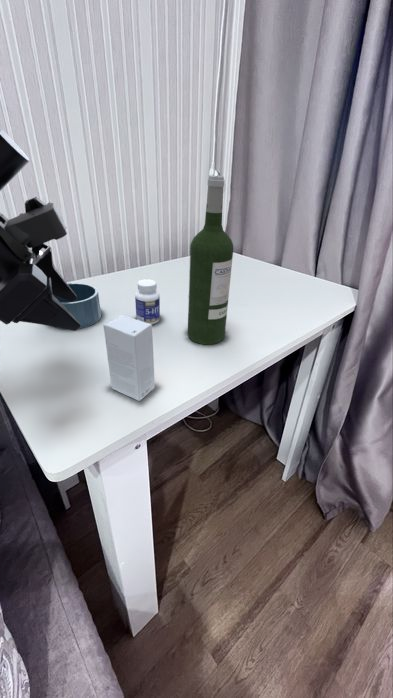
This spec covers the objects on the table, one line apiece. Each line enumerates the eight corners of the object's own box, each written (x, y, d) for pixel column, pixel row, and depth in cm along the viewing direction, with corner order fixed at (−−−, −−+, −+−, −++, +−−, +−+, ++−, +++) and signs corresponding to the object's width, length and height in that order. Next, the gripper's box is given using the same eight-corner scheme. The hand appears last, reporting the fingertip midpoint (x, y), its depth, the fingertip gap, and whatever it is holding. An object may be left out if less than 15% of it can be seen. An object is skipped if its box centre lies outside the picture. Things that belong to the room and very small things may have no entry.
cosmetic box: (155, 387, 55) (153, 324, 48) (139, 402, 52) (134, 336, 45) (127, 375, 57) (121, 313, 51) (110, 388, 54) (101, 324, 48)
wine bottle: (220, 348, 66) (236, 180, 50) (182, 341, 68) (186, 176, 51) (227, 329, 73) (243, 176, 56) (193, 324, 74) (199, 173, 58)
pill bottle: (147, 327, 72) (145, 289, 67) (131, 319, 75) (129, 282, 70) (164, 319, 75) (164, 282, 70) (149, 312, 78) (147, 276, 73)
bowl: (68, 335, 68) (63, 308, 65) (38, 318, 73) (32, 293, 70) (111, 316, 76) (108, 292, 72) (80, 302, 81) (77, 279, 78)
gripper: (7, 186, 29) (130, 301, 38) (22, 167, 43) (109, 254, 53) (-78, 272, 30) (62, 363, 39) (-35, 225, 45) (60, 300, 54)
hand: (76, 312), depth 46 cm, fingers open, 9 cm apart
